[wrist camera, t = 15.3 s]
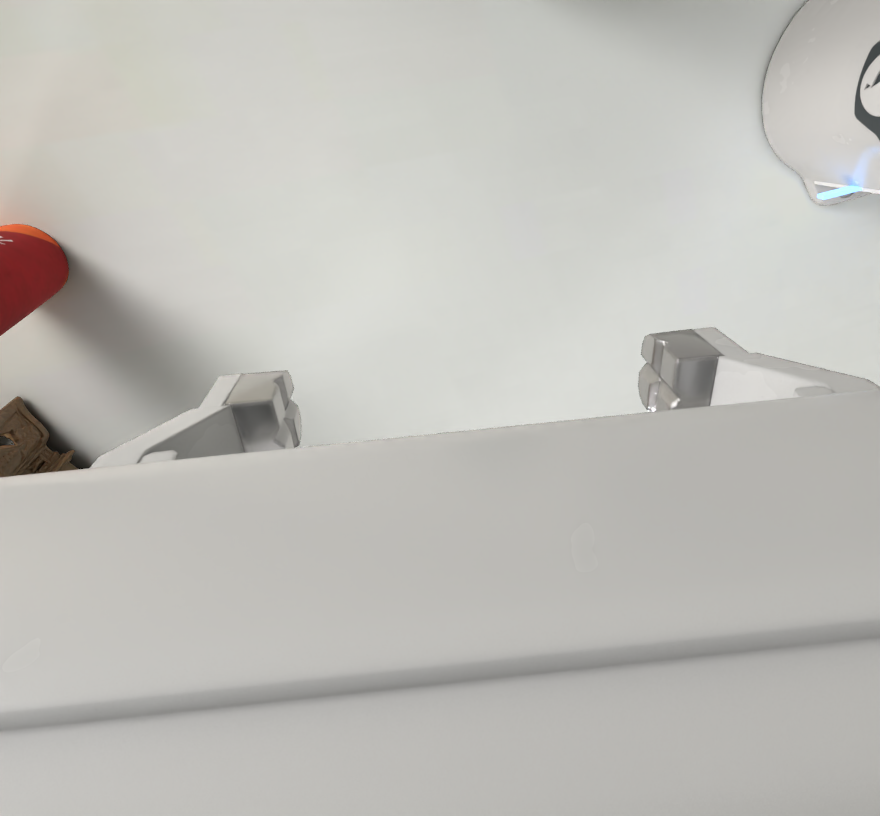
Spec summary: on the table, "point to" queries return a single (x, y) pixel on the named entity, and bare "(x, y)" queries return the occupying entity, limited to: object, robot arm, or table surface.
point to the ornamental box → (27, 444)
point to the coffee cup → (27, 272)
